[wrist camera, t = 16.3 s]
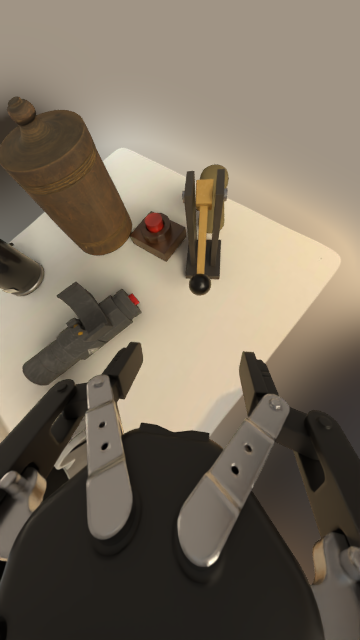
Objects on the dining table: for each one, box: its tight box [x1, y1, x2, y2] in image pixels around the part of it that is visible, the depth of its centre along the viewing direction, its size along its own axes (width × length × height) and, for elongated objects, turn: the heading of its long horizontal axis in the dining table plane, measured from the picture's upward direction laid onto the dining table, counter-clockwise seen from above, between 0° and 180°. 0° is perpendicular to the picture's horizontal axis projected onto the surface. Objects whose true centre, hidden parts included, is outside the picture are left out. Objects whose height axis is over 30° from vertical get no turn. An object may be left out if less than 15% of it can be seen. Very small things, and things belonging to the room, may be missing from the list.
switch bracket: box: [182, 169, 227, 279], centre depth 29 cm, size 9×7×16 cm
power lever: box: [189, 179, 214, 295], centre depth 25 cm, size 15×3×3 cm, turn 174°
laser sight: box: [23, 282, 141, 385], centre depth 30 cm, size 10×22×10 cm, turn 129°
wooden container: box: [0, 97, 132, 255], centre depth 33 cm, size 15×15×22 cm
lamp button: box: [145, 213, 164, 233], centre depth 35 cm, size 4×4×2 cm
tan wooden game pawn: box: [198, 165, 229, 233], centre depth 34 cm, size 6×6×11 cm
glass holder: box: [0, 429, 87, 582], centre depth 22 cm, size 9×14×15 cm, turn 143°
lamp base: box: [130, 211, 186, 262], centre depth 38 cm, size 10×8×4 cm
